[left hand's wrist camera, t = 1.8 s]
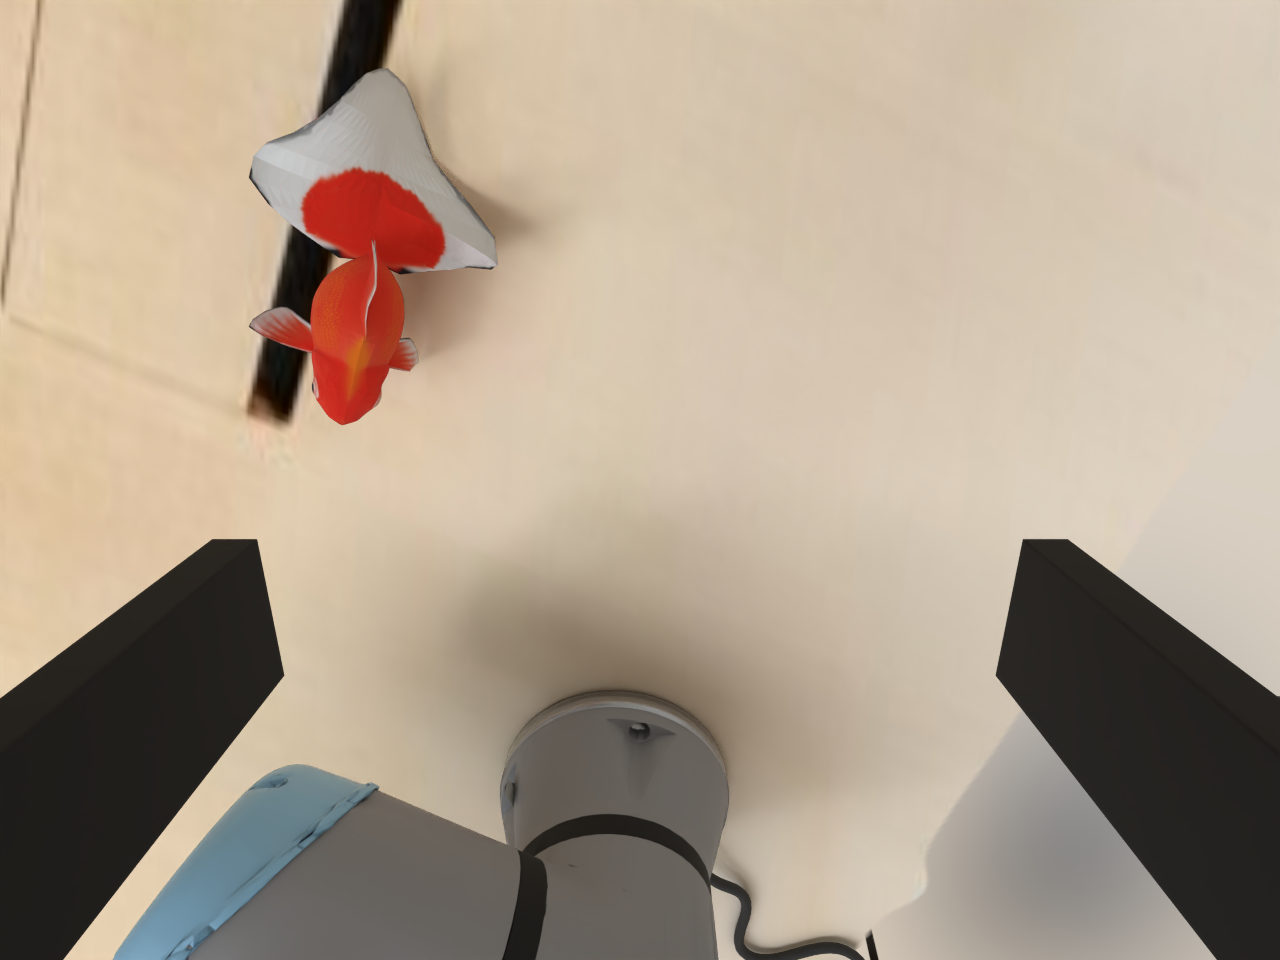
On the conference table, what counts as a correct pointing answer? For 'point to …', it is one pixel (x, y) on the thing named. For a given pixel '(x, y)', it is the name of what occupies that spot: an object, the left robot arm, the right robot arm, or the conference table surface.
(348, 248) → the fish
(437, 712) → the conference table surface
